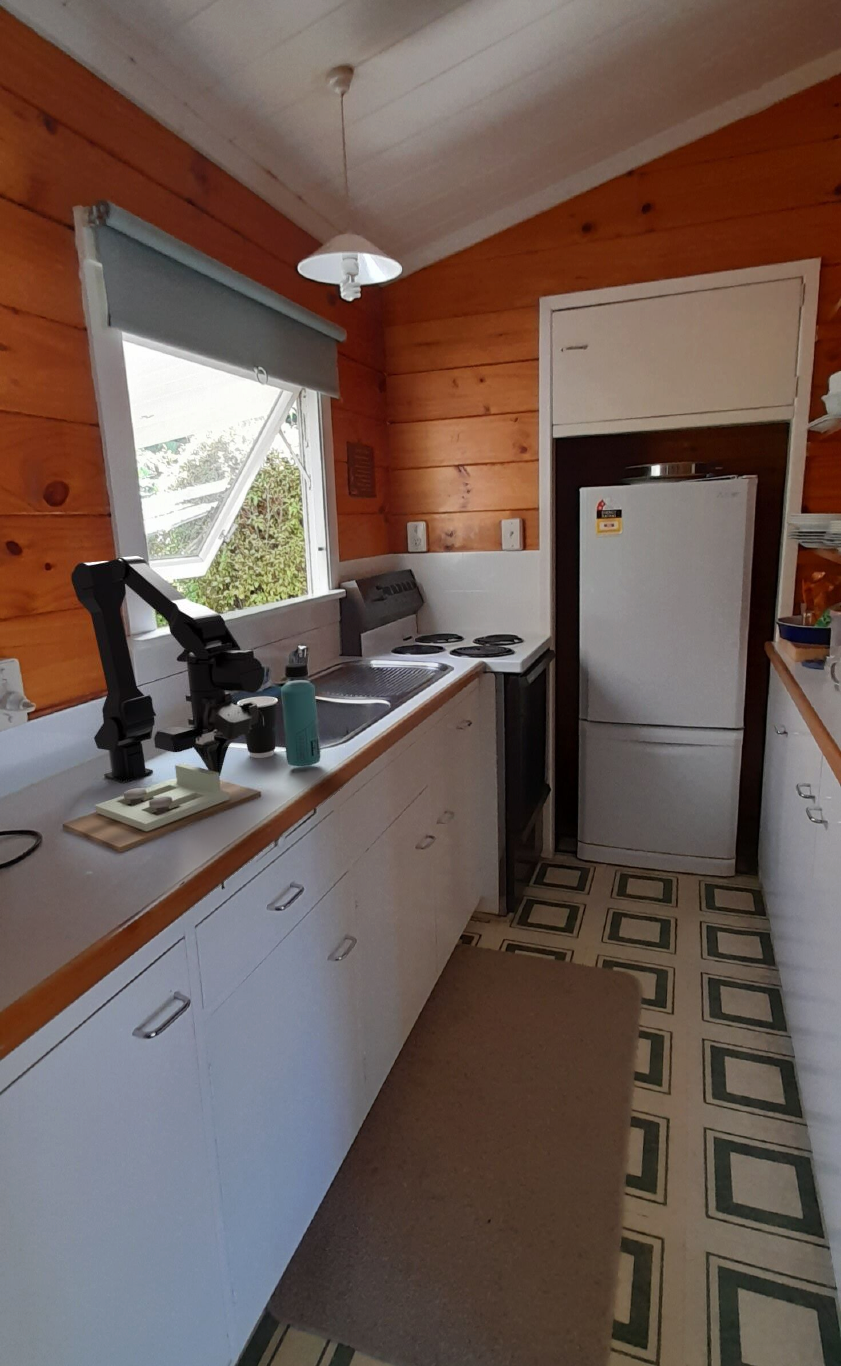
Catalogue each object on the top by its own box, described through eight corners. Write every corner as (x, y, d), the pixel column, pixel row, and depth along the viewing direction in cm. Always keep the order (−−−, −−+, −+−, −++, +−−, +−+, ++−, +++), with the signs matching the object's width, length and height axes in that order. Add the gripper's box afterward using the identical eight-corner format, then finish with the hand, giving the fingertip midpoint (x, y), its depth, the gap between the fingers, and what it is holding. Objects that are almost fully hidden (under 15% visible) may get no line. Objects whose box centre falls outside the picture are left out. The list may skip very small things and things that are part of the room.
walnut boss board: (62, 828, 114) (59, 806, 113) (202, 779, 134) (200, 760, 134) (120, 852, 105) (117, 828, 104) (261, 795, 125) (259, 775, 124)
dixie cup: (289, 753, 148) (285, 700, 146) (255, 763, 143) (250, 708, 140) (268, 746, 154) (263, 694, 151) (234, 755, 148) (229, 702, 146)
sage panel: (95, 812, 117) (92, 787, 116) (177, 783, 129) (175, 761, 128) (146, 831, 109) (143, 804, 108) (229, 799, 121) (226, 774, 120)
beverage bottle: (315, 775, 134) (307, 667, 130) (280, 773, 136) (272, 667, 132) (326, 763, 141) (319, 660, 136) (293, 762, 142) (285, 660, 138)
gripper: (190, 705, 112) (200, 803, 115) (281, 682, 126) (288, 769, 129) (147, 697, 118) (158, 789, 122) (239, 676, 133) (246, 759, 136)
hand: (216, 776), depth 127 cm, fingers closed
